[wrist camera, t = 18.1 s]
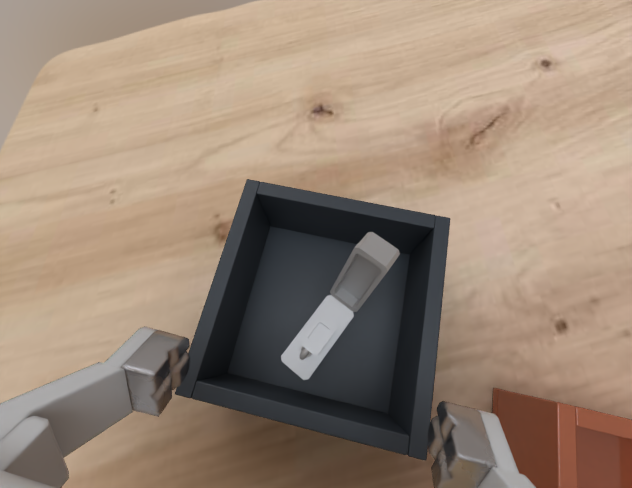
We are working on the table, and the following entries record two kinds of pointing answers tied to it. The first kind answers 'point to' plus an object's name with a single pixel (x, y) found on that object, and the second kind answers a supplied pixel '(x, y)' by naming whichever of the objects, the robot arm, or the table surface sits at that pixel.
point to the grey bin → (300, 304)
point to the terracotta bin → (565, 442)
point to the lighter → (340, 304)
